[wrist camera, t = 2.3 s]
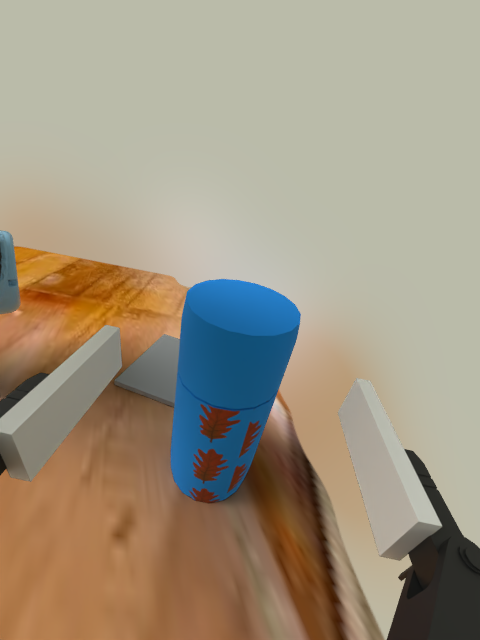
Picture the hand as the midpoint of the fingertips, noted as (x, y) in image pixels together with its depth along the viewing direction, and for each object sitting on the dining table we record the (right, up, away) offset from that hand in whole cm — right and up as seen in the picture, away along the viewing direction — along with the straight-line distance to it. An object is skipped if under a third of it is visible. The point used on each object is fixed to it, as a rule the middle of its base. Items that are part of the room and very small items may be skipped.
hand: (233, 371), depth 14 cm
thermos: (-4, -17, +21) cm, 28 cm away
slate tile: (-11, -7, +35) cm, 38 cm away
